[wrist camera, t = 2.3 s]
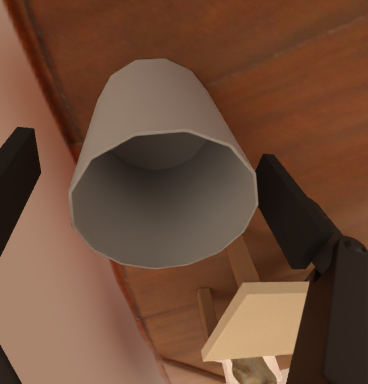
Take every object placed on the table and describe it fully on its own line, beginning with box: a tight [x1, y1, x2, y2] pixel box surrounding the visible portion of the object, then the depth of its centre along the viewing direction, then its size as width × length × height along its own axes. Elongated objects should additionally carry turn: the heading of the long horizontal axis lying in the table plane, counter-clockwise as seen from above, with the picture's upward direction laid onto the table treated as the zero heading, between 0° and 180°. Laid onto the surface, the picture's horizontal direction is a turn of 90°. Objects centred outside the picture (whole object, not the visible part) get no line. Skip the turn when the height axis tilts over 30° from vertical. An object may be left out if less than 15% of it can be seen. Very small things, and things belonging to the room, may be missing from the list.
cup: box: [68, 58, 258, 269], centre depth 15 cm, size 8×8×10 cm
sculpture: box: [231, 357, 277, 384], centre depth 37 cm, size 6×7×15 cm
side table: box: [196, 234, 309, 362], centre depth 31 cm, size 15×15×8 cm
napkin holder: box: [216, 355, 283, 384], centre depth 54 cm, size 15×11×6 cm
